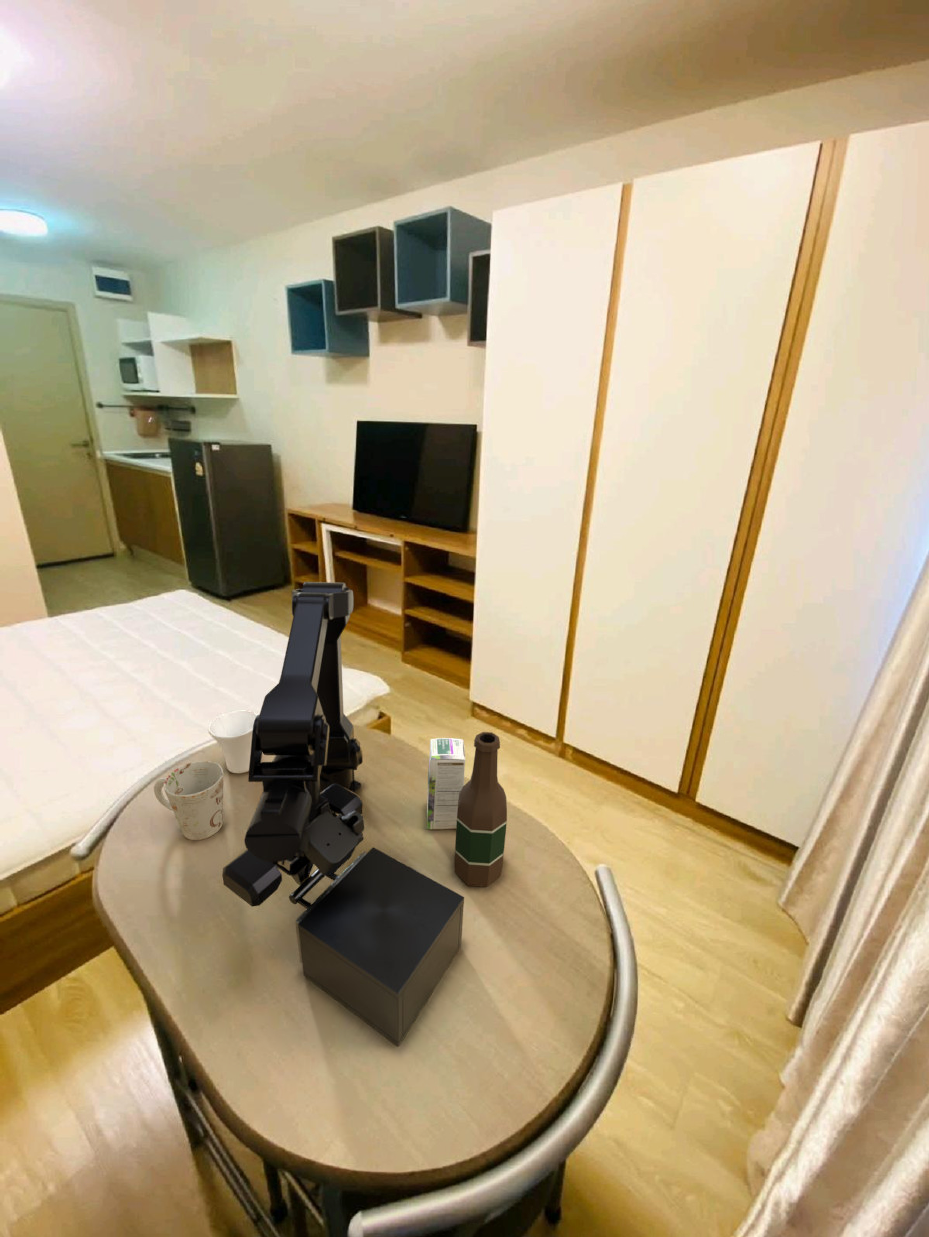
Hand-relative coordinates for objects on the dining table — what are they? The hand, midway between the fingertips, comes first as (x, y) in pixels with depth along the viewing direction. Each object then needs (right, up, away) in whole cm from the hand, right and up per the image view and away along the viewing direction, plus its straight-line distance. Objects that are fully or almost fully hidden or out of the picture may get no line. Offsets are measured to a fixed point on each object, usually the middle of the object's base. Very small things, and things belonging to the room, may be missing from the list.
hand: (301, 883), depth 71 cm
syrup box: (+19, +2, +19) cm, 26 cm away
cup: (-21, +8, +29) cm, 36 cm away
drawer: (+8, -6, -3) cm, 11 cm away
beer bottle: (+24, -2, +9) cm, 26 cm away
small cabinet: (+12, -7, -5) cm, 15 cm away
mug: (-23, +2, +15) cm, 27 cm away
